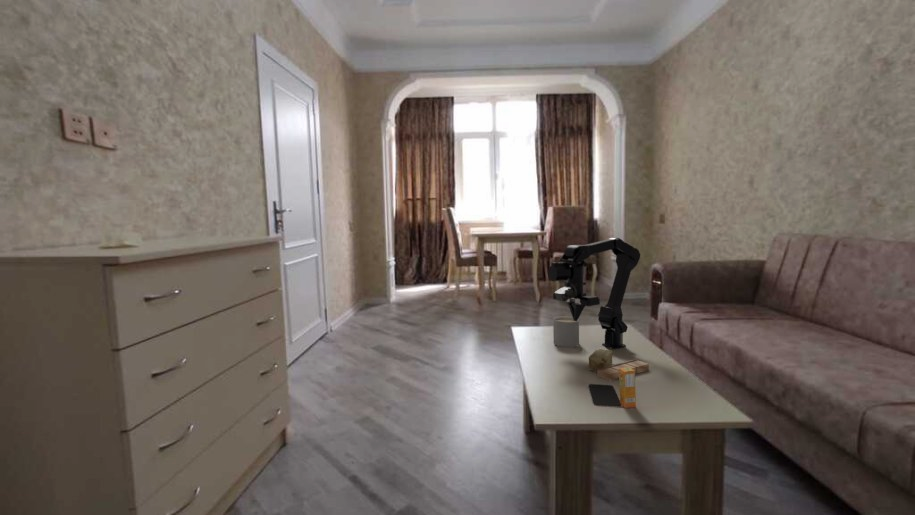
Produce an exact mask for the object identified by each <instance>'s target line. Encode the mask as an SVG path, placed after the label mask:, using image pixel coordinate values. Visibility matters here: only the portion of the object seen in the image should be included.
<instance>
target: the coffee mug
mask: <svg viewBox="0 0 915 515" xmlns="http://www.w3.org/2000/svg"><path fill="white" fill-rule="evenodd" d="M552 319H553V321H552V322H553V326H552V328H553V330H552V331H553V345H554V344H555V346H556V345H557V347H560V346H561V348H575V346H576V347H578V346H579V345H580V319H579V318H578V320H577V321H574V320H573V317H572V316H557V317H554V318H552Z"/></svg>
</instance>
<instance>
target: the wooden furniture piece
mask: <svg viewBox="0 0 915 515" xmlns="http://www.w3.org/2000/svg"><path fill="white" fill-rule="evenodd" d="M624 367H630V368H631V369H633V370H635V375H636V374H639V373H643V372H645V371H649V370H650V368H649V367H650V365H649V363H647V362H644V361H640V360H638V358H635V359H631V360H627V361H622V362H618V363H615V364H611V365H610V366H606V367H602V368H599V369H597V372H596V376H597V377H599V378H602V379H604V380H607V381H609V382H610V381H614V380H618V379H619V368H624Z"/></svg>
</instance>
